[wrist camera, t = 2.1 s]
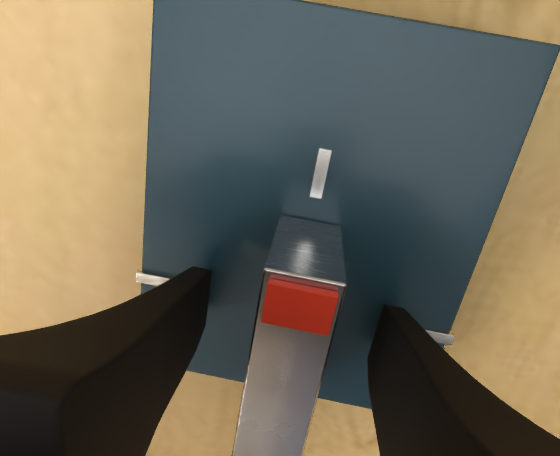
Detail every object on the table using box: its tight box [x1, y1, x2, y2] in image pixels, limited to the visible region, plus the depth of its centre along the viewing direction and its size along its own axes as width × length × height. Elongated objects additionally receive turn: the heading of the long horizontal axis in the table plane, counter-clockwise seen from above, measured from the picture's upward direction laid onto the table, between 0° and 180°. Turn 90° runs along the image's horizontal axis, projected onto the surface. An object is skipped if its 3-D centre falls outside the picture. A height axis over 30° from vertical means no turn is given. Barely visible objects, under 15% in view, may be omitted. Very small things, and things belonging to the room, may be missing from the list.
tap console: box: [136, 0, 560, 409], centre depth 13 cm, size 14×10×3 cm
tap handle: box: [232, 215, 347, 456], centre depth 11 cm, size 6×2×4 cm, turn 171°
